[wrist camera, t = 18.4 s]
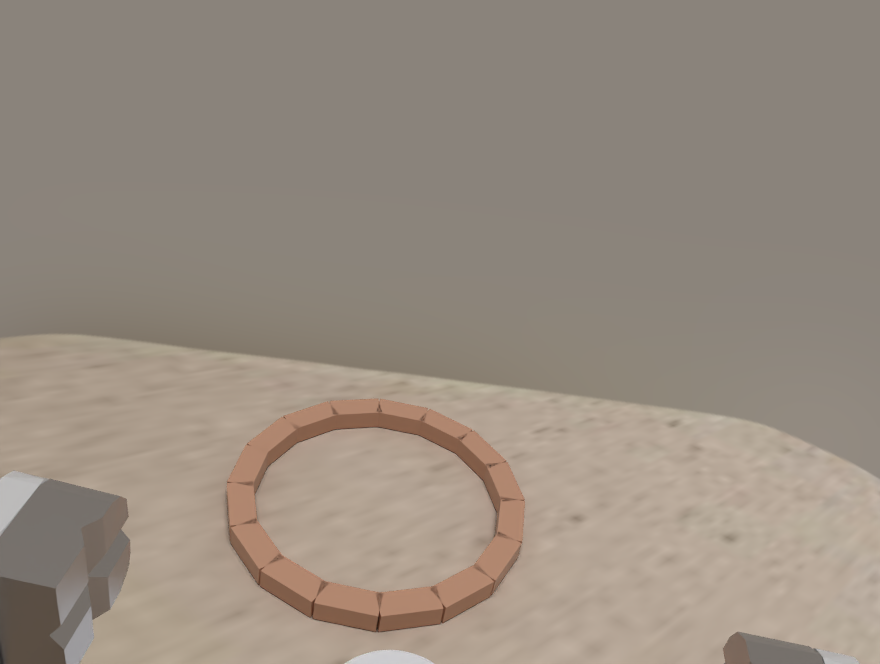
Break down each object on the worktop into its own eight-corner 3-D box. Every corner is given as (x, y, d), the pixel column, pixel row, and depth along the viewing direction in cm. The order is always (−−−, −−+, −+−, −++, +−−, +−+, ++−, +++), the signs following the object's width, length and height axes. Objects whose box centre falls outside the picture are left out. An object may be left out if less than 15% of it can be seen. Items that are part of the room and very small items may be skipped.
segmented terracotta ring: (180, 591, 35) (179, 575, 35) (278, 392, 47) (279, 378, 47) (510, 659, 35) (515, 645, 34) (526, 442, 47) (529, 428, 46)
